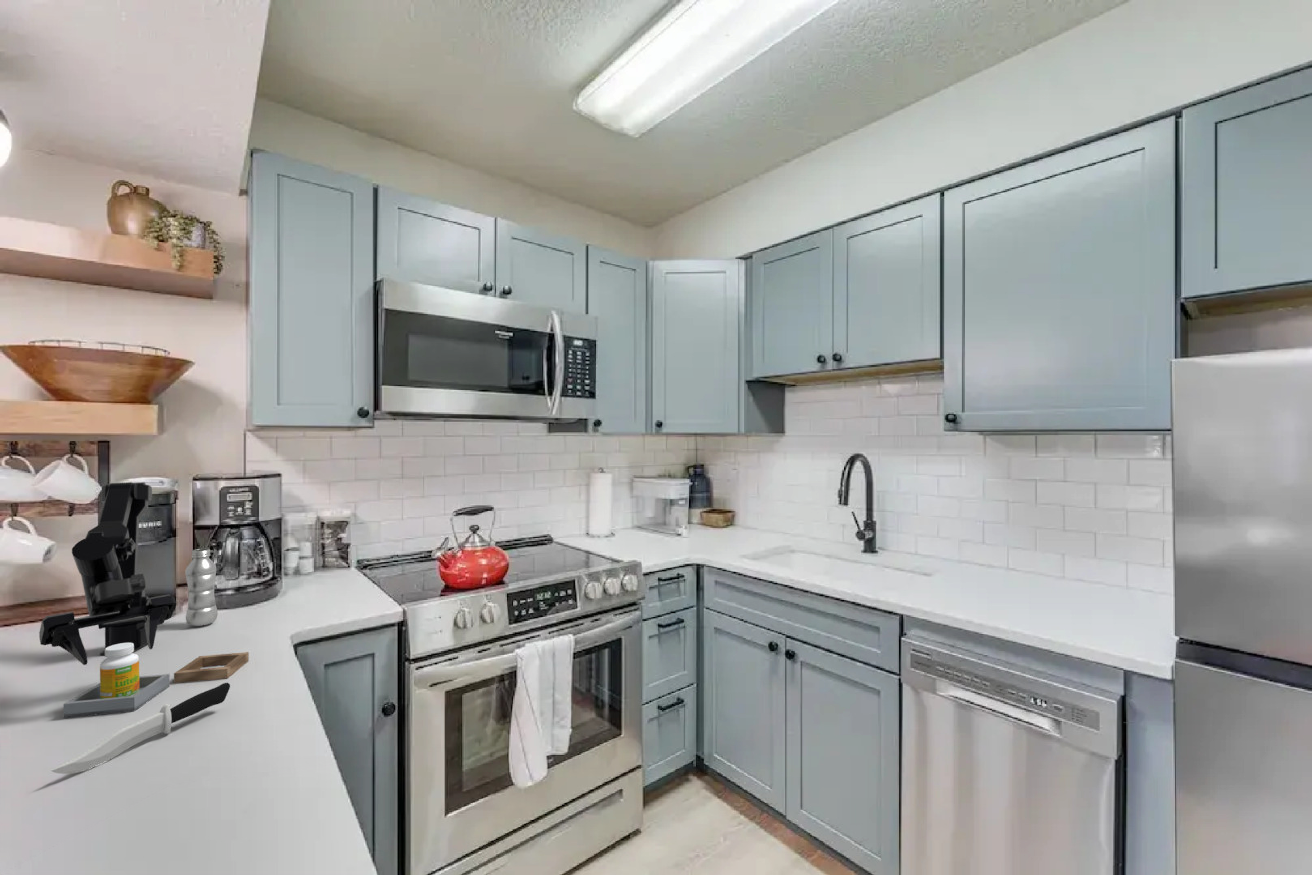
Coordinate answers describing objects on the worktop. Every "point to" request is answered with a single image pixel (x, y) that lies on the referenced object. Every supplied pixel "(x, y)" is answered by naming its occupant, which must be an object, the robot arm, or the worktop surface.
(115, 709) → the tray
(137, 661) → the supplement bottle
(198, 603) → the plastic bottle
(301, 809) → the worktop surface
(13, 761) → the worktop surface
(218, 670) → the wooden frame
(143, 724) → the knife
